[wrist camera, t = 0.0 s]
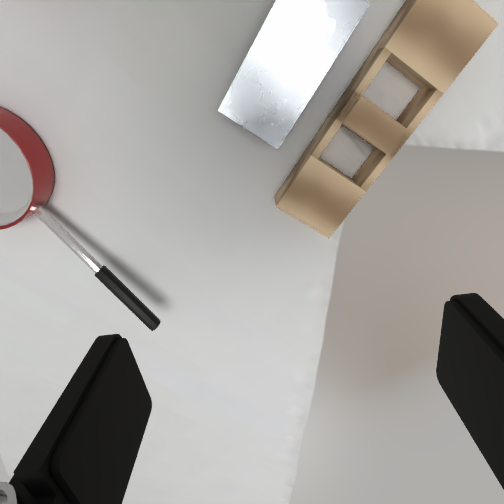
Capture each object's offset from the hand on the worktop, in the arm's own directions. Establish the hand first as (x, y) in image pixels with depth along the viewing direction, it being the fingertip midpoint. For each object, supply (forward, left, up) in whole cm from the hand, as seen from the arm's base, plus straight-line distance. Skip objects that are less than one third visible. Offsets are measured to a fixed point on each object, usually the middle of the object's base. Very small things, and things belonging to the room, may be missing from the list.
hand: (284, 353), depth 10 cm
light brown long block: (-8, +7, -31) cm, 33 cm away
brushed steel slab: (-8, -3, -31) cm, 32 cm away
